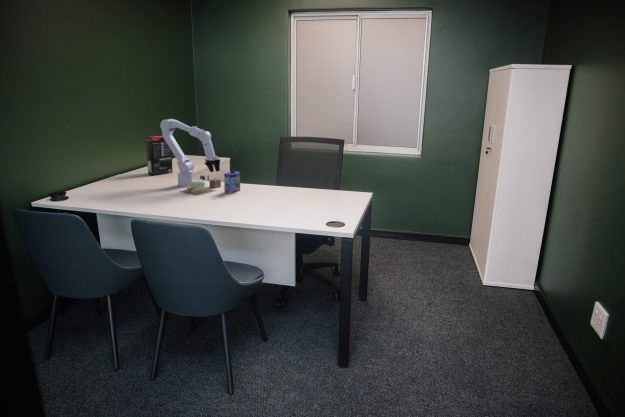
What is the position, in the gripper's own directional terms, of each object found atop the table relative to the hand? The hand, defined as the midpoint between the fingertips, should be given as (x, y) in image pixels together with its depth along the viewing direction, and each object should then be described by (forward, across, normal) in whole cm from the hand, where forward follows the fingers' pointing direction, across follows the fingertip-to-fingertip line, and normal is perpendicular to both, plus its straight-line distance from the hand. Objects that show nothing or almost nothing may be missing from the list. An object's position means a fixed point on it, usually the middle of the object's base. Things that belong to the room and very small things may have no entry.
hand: (215, 171), depth 281 cm
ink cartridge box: (+14, -13, -1) cm, 19 cm away
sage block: (+6, -1, +15) cm, 16 cm away
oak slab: (+8, 0, +15) cm, 17 cm away
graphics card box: (-4, +63, +9) cm, 64 cm away
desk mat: (+9, 0, +15) cm, 18 cm away
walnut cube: (+10, +4, +1) cm, 11 cm away
